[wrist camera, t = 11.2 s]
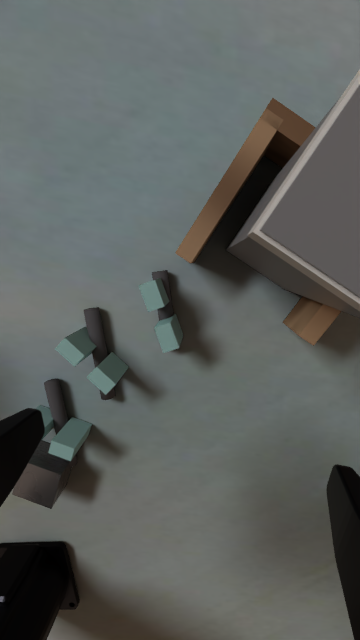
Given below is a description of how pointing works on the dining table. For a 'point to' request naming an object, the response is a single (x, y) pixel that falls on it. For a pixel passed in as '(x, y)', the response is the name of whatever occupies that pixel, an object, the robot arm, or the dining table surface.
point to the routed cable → (96, 357)
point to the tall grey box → (313, 214)
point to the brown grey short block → (43, 477)
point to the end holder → (264, 140)
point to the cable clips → (105, 368)
